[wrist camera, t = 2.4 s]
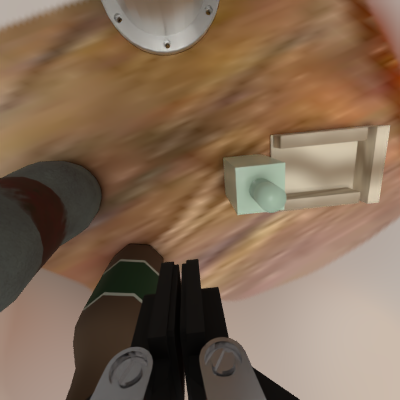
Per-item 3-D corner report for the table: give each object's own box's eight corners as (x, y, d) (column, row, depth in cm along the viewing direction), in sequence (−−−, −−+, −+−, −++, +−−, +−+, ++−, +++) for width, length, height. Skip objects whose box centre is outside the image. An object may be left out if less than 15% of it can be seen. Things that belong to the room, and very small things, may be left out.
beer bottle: (124, 232, 33) (-17, 474, 10) (174, 253, 34) (150, 507, 11) (104, 275, 35) (-54, 560, 12) (152, 293, 36) (94, 579, 13)
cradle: (270, 135, 30) (280, 136, 27) (368, 125, 30) (390, 125, 27) (270, 204, 33) (279, 213, 30) (359, 195, 33) (378, 202, 30)
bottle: (223, 157, 30) (243, 174, 20) (260, 153, 31) (302, 168, 20) (225, 193, 32) (245, 228, 21) (261, 190, 32) (299, 222, 21)
